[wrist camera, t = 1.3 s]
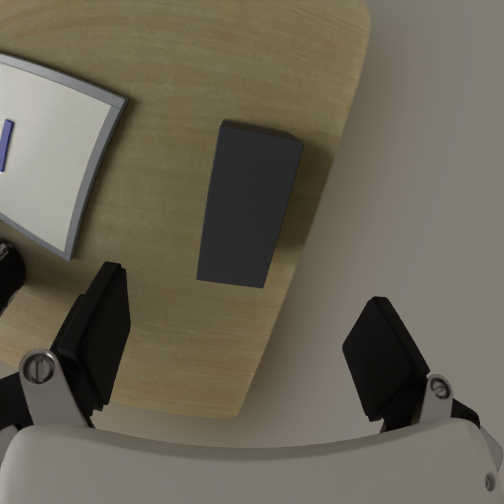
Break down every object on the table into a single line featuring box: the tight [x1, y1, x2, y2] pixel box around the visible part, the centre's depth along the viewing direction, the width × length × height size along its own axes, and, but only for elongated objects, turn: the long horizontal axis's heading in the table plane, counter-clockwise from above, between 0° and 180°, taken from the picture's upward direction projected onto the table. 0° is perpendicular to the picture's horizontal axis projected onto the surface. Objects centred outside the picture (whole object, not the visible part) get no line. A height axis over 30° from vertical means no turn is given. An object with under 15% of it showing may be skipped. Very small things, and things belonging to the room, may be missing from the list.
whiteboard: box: [0, 52, 129, 262], centre depth 16 cm, size 16×22×1 cm
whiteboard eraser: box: [196, 119, 304, 288], centre depth 18 cm, size 10×5×6 cm, turn 168°
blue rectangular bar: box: [0, 119, 14, 172], centre depth 15 cm, size 5×1×1 cm, turn 147°
